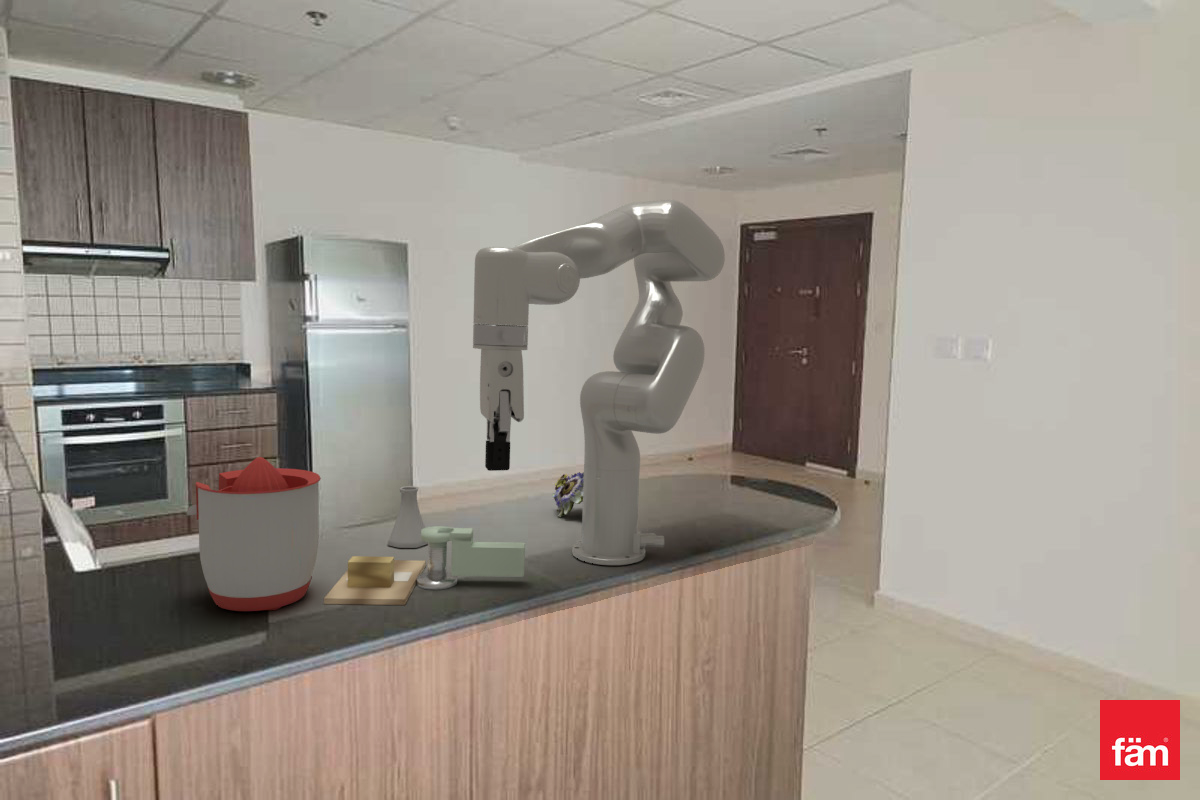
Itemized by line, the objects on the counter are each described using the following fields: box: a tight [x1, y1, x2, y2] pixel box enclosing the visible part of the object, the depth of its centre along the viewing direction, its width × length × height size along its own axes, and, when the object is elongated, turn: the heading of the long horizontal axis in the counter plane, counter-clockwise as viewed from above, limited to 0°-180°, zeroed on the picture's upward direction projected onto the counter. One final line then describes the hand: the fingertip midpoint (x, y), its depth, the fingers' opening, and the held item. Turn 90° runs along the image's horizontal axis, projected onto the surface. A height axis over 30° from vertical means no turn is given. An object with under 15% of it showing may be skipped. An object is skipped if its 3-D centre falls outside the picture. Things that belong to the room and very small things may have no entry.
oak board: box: [323, 555, 427, 606], centre depth 113 cm, size 11×17×4 cm, turn 3°
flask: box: [386, 485, 428, 549], centre depth 133 cm, size 7×7×10 cm
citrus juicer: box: [186, 456, 321, 612], centre depth 104 cm, size 16×17×20 cm
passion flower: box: [551, 471, 584, 517], centre depth 156 cm, size 11×11×12 cm
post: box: [416, 542, 458, 591], centre depth 114 cm, size 6×6×7 cm
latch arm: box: [421, 525, 526, 578], centre depth 114 cm, size 15×5×6 cm, turn 93°
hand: (497, 469), depth 106 cm, fingers closed
